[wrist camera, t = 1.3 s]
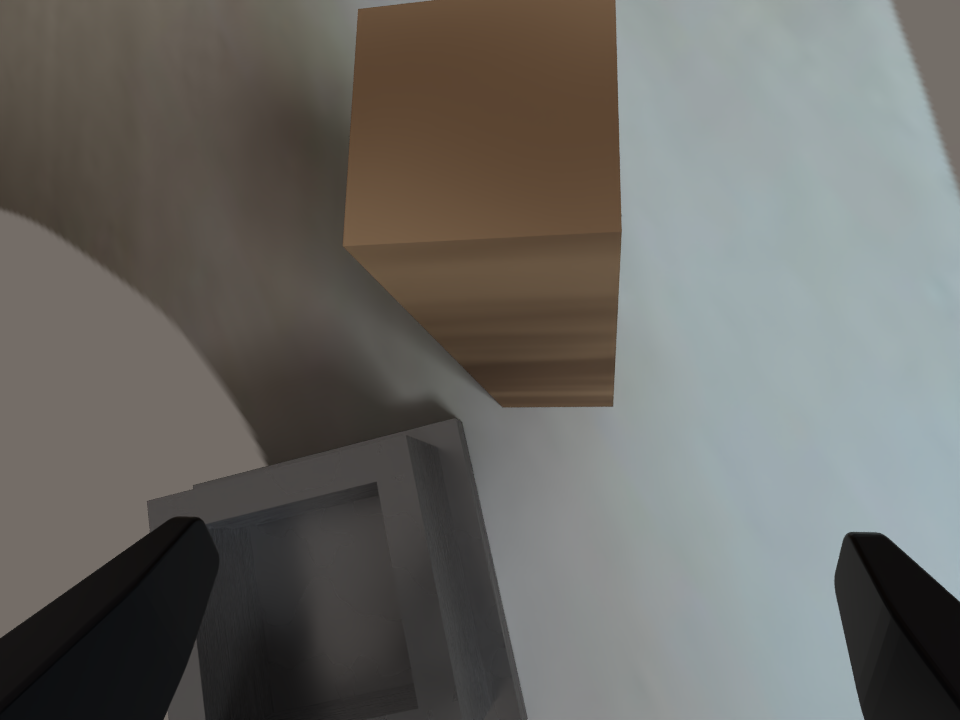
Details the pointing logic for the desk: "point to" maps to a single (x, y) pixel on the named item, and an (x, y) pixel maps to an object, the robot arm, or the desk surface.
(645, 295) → the desk surface
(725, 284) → the desk surface
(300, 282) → the desk surface
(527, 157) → the block
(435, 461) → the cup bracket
